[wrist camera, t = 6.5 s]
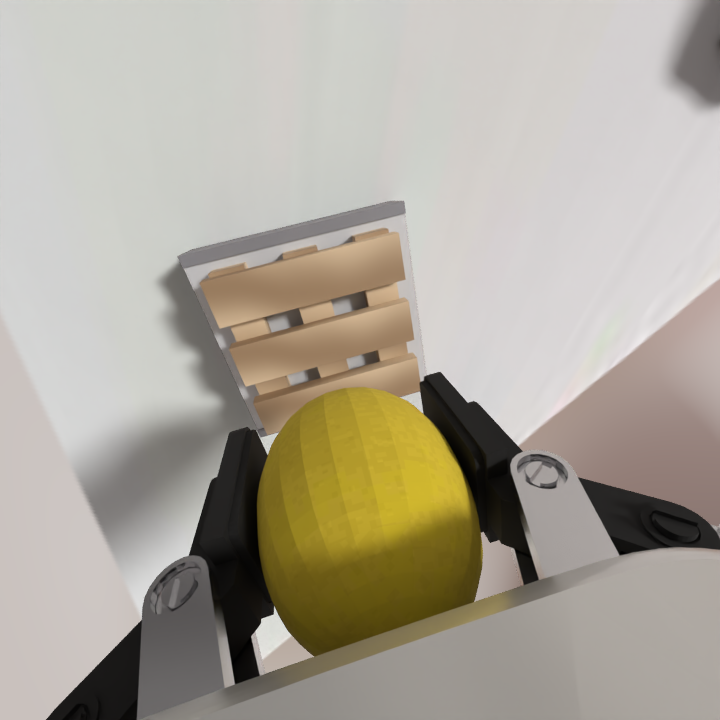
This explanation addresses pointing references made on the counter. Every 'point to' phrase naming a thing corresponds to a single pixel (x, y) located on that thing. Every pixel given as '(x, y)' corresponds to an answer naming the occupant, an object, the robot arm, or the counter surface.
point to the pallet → (317, 322)
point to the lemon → (364, 520)
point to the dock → (270, 250)
